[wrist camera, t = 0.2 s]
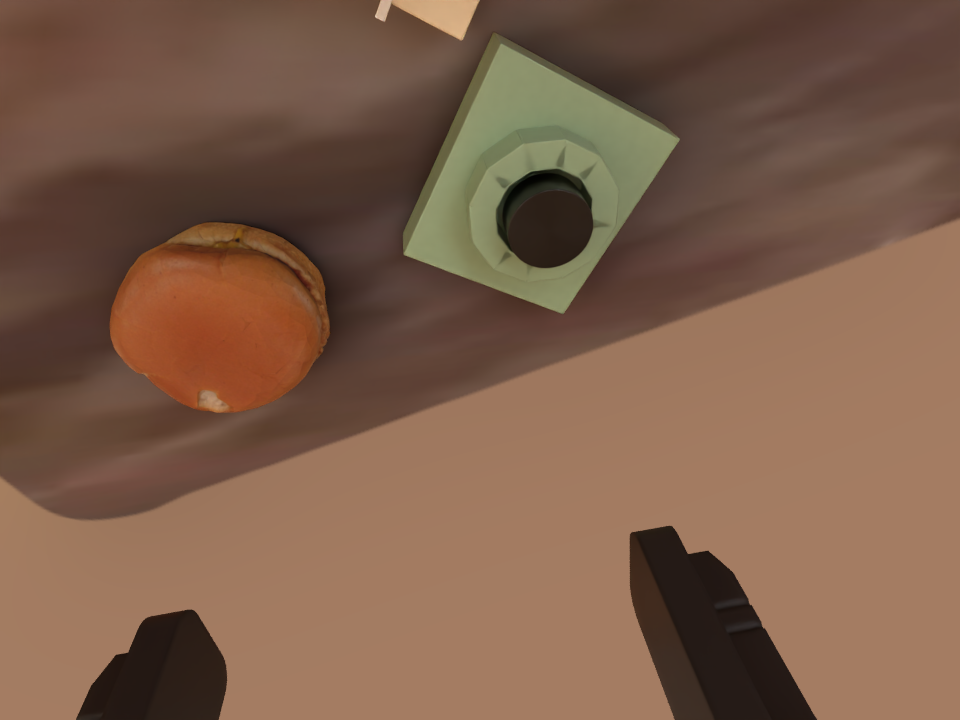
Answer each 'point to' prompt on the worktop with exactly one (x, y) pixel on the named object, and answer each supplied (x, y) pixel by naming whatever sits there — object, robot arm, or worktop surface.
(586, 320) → the worktop surface
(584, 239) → the button
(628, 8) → the worktop surface
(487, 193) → the button box
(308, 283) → the burger
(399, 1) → the panel
